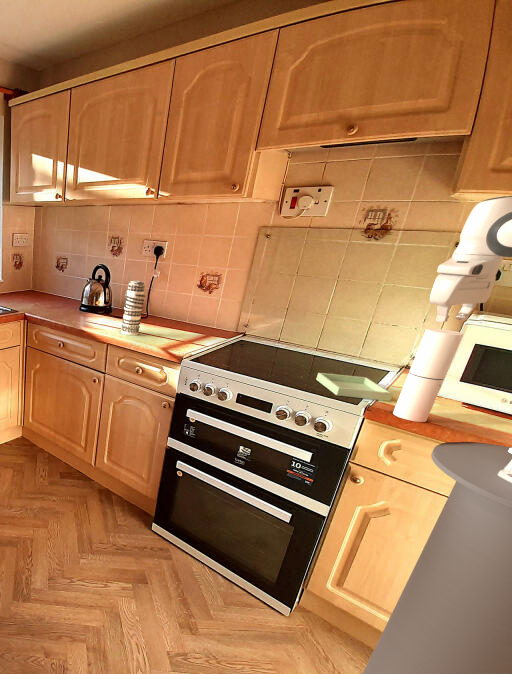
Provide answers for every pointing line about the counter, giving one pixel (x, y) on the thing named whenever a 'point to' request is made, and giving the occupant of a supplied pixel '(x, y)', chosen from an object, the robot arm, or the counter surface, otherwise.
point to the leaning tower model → (133, 307)
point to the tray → (353, 386)
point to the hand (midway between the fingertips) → (450, 320)
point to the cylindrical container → (427, 374)
